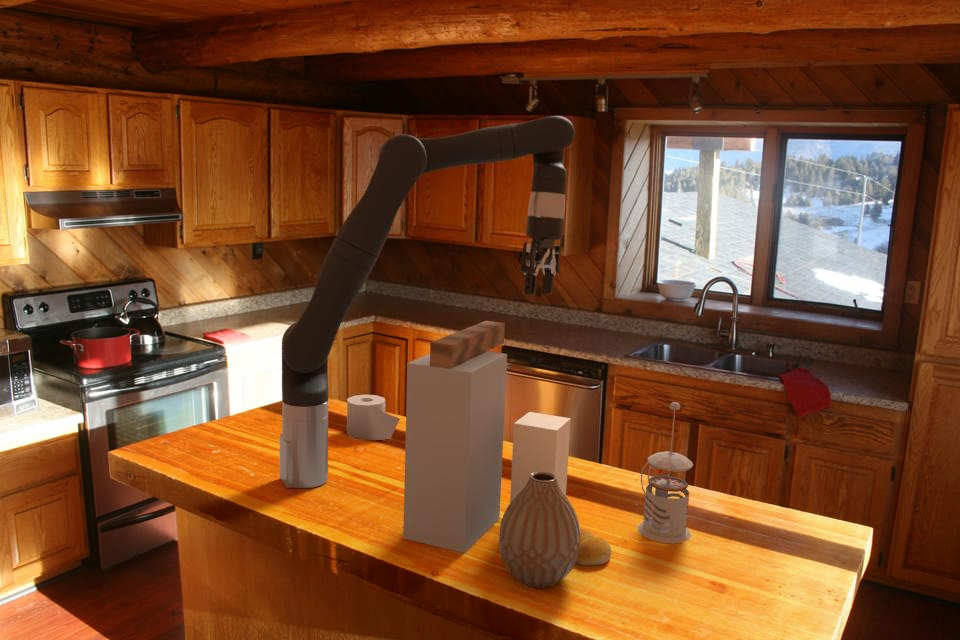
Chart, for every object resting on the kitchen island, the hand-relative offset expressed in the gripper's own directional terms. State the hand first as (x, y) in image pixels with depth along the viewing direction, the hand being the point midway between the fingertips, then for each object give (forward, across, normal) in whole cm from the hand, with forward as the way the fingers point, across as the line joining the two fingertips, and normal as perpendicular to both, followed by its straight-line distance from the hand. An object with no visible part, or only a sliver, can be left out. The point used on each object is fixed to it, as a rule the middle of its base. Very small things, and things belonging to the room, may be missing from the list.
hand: (538, 293), depth 169 cm
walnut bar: (+11, +26, -1) cm, 28 cm away
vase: (+44, +36, +21) cm, 60 cm away
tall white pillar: (+43, +28, 0) cm, 51 cm away
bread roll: (+43, +24, +24) cm, 55 cm away
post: (+42, +20, +13) cm, 48 cm away
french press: (+41, +6, +32) cm, 53 cm away
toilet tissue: (+40, -6, -44) cm, 60 cm away
